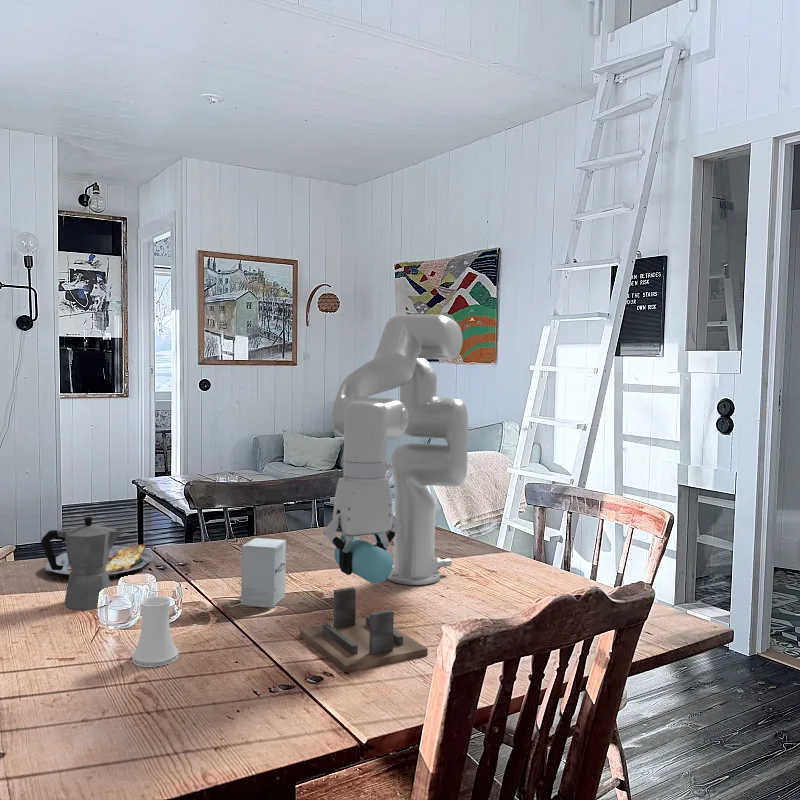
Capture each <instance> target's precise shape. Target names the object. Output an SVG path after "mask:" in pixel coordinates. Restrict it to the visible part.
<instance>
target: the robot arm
mask: <svg viewBox="0 0 800 800" xmlns="http://www.w3.org/2000/svg"><path fill="white" fill-rule="evenodd" d="M462 348H463V333H462V328H461V327H460V325H459V324H458V323H457V322H456V320H454V319H452V318H450V317H448V316H445V315H443V314H434V313H433V314H432V313H431V314H430V313H429V314H426V313H425V314H422V313H420V314H417V313H416V314H415V313H413V314H412V313H409V314H408V313H405V314H398V315H394V316H393V317H391V318H389V319H388V321H387V322H386V324H385V326H384V328H383V331H382V334H381V337H380V340H379V343H378V346H377V347H376V351H375V353H374V357H373V359H371V360H369V361H368V362H366V363H364V364H362V365H361V366H360V367H358V368H357V369H355V370H354V371H352V372H351V373H349V375H347V376H346V378H345V379H343V381H342V382H341V384H340V386H339V388H338V392H337V394H336V396H335V398H334V399H335V400H334V402H333V405H332V408H331V414H330V421H331V426H332V429H333V431H334V432H335V433H336V434H338V435H339V436H342V437H343V469H342V470H343V475H342V477H339V478H338V481H337V483H336V484H337V485H336V489H335V495H334V501H333V502H334V504H333V513H332V519H331V521H330V522H329V523H328V524H327V526H326V527H325V528H324V530H322V533H323V535H324V536H325V538H327V539H328V540H329V541H330V543H332V544H333V545H334V546H335V548H336V547H337V549H339V564H338V566H339V569H340V571H341V572H342V573H344V574H345V575H347V576H350V575H352V574H353V573H352V553H351V552H350V547H351V544H352V541H353V539H354V536H355V537H358V536H361V537H362V536H369V535H373V536H374V540H375V542H376V544H374V545H375V546H377V547H379V548H381V549H384V550H386V551H387V548H389V547H390V543H391V542H392V540H393V568H392V571H391V573H390V575H389V577H388V578H387V579H388V580H389V581H391V582H393V583H395V584H396V583H397V584H401V585H405V586H406V585H408V586H423V585H425V586H426V585H431V584H434V583H436V582H438V581H440V580H441V572H440V571H439V570H440V569H441V568H445V567H451V566H452V559H451V558H450V557H448V558H442V559H441V557H436V556H435V544H436V541H435V539H436V538H435V537H436V503H435V499H434V497H433V495H432V494H431V492H430V491H429V490H428V488H427V487H428V486H434V487H435V486H437V487H451V488H452V487H459V486H462V485H463V483H464V482H465V481H466V477H467V471H468V450H469V448H468V445H469V444H468V443H469V442H468V440H469V415H468V414H469V413H468V409H467V406H466V403H465V402H464V401H463V400H461V399H459V398H455V397H441V396H440V397H438V394H437V388H438V387H437V386H438V385H437V383H438V381H437V380H438V378H437V377H438V376H437V374H436V371H435V369H434V367H432V365H431V363H430V362H429V361H428V360H454V359H456V358H457V357H458V356H459V354H460V353H461V351H462ZM397 388H399V400H398V399H394V398H383V397H381V398H378V397H371V396H373V395H377V394H381V393H384V392H388V391H391V390H394V389H397ZM402 435H405V436H407V437H411V438H419V439H421V438H422V439H437V440H441V439H442V440H445V442H446V444H432V443H418V442H417V443H415V442H414V443H410V442H409V443H403V444H400V445H398V446H397V447H396V448H395V449H394V450H393V452H392V454H391V462H388V461H387V440H393V439H397V438H400V437H401V436H402ZM388 471H392V478H393V479H392V480H393V486H394V488H393V489H394V513H393V500H392V499H393V498H392V490H391V485H390V481H389V478H388V477H387V472H388ZM426 486H427V487H426ZM337 532H338V533H340V535H339V537H338V536H337V535H336V533H337Z"/></svg>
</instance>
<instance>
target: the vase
mask: <svg viewBox="0 0 800 800" xmlns="http://www.w3.org/2000/svg"><path fill="white" fill-rule="evenodd" d="M170 605H171V598H169V597H167V596H153V597H151V596H150V597H147V598H144V599H142V600H140V608H141V628H140V635H139V639H138V644H137V645H136V648H135V651H133V652H132V655H131V658H132V659H131V661H132V663H133V665H135V666H138V667H141V668H157V666H159V667H163V665H164V666H167V664H168V665H170V664H172V662H173V663H174V662H176V661H177V660H178V659H179V649H178V648H177V647H176V645H175V643H174V639H173V638H172V637H173V636H172V633H171V628H170V627H171V626H170ZM177 658H178V659H177Z"/></svg>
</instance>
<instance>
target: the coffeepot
mask: <svg viewBox="0 0 800 800" xmlns="http://www.w3.org/2000/svg"><path fill="white" fill-rule="evenodd" d="M83 520H84V525H82V526H77V527H73V528H70V529H53V530H52V529H51V530H48V532H46V533H45V535H44V536H43V537H42V538H41V540H40V541H41V542H40V543H41V546H42V548H43V550H44V554H45V556H46V558H47V560H48V561H47V562H49V564H50V566H51V569H52V570H62V569H63V565H57V564H56V557H57V556H56V555H55V553H54V549H53V544H52V543H51V541H53V540H58V541H64V544H65V550H66V553H67V556H68V562H69V564H70V565H71V567H70V570H71V571H70V572H69V573H70V574H68V580H67V586H66V591H65V598H64V605H65V607H66V608H68V609H69V610H74V611H92V610H97V609H98V608H97V603H98V596H99V592H100V591H101V590H102V589H104V588H108V587H111V582H110V578H109V577H110V576H108V572H107V570H106V563H108V560H109V554H110V549H111V548H112V546H114V545H115V542H116V541H117V539H118V538H119V537H120V535H122V534H123V530H121V529H119V528H110V527H108V526H102V525H93V524H92V523H93V516H86V517H84V518H83Z"/></svg>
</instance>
